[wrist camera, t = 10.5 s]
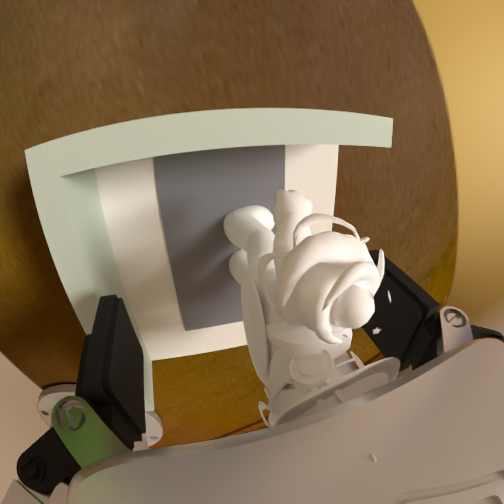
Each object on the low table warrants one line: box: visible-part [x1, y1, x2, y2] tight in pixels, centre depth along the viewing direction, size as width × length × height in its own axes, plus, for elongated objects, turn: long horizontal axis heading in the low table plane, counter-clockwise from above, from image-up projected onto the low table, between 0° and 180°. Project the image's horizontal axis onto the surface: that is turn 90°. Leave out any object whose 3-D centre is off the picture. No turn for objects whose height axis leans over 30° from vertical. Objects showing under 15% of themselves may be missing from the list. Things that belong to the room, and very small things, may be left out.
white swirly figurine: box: [223, 189, 400, 462], centre depth 9 cm, size 9×4×12 cm, turn 2°
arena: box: [25, 108, 393, 411], centre depth 13 cm, size 14×13×5 cm
